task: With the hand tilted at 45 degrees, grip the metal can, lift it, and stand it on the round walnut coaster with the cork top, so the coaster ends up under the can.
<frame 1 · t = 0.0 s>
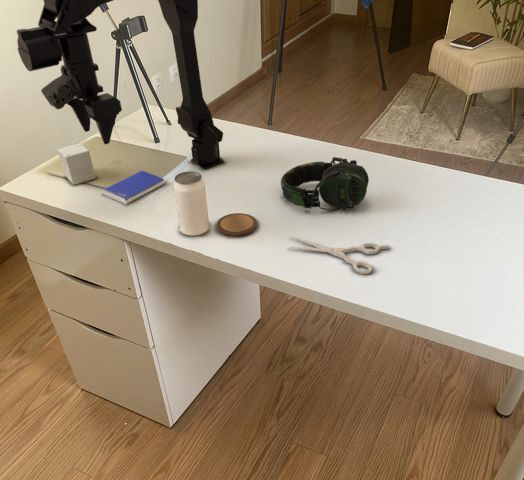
hand: (96, 137, 117), 15 cm above the table, tool pointing down, fingers open, 9 cm apart
headphones: (322, 201, 124), on the table
product box: (81, 178, 136), on the table
can: (194, 229, 117), on the table
coaster: (237, 226, 117), on the table
scissors: (334, 253, 109), on the table
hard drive: (134, 190, 130), on the table
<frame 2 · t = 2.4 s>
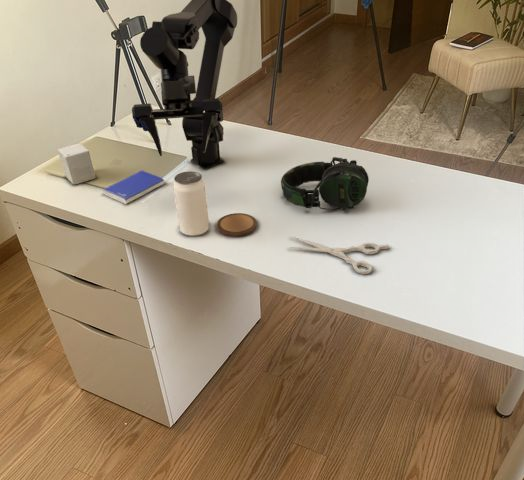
hand: (182, 153, 113), 13 cm above the table, tool tilted 45°, fingers open, 9 cm apart
nothing on the table moved.
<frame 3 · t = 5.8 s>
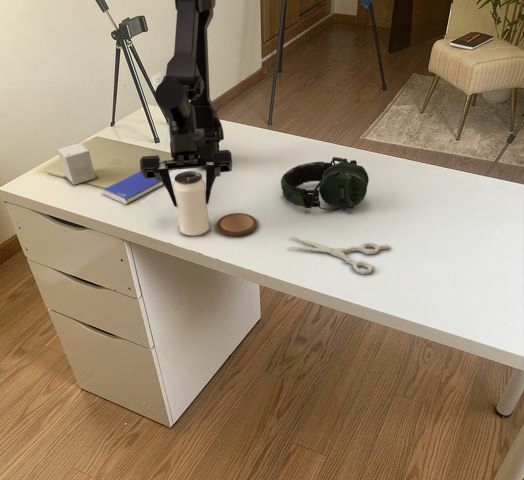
hand: (191, 204, 111), 7 cm above the table, tool tilted 45°, fingers closed on can, 6 cm apart
can: (194, 229, 117), on the table, touching gripper
everything else where it was.
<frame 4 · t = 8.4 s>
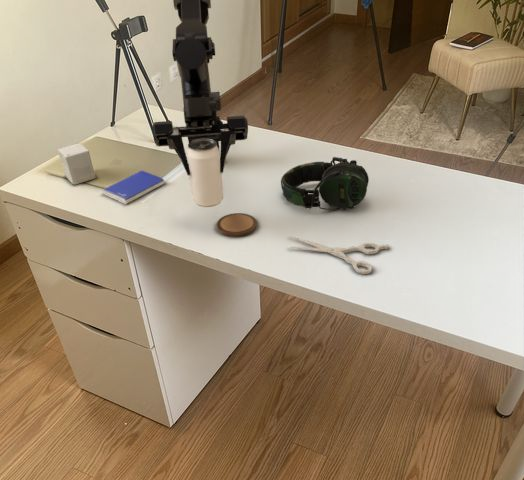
hand: (205, 173, 107), 13 cm above the table, tool tilted 45°, fingers closed on can, 6 cm apart
can: (208, 200, 112), point 6 cm above the table, touching gripper
everything else where it was.
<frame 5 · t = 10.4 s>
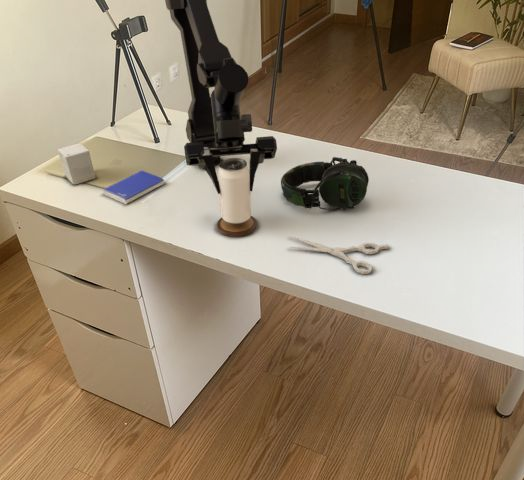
hand: (235, 192, 110), 9 cm above the table, tool tilted 45°, fingers closed on can, 6 cm apart
can: (236, 217, 116), point 2 cm above the table, touching gripper
everything else where it was.
when the fingers open (8 cm above the table, at t = 11.4 s): can stays where it is, resting on coaster.
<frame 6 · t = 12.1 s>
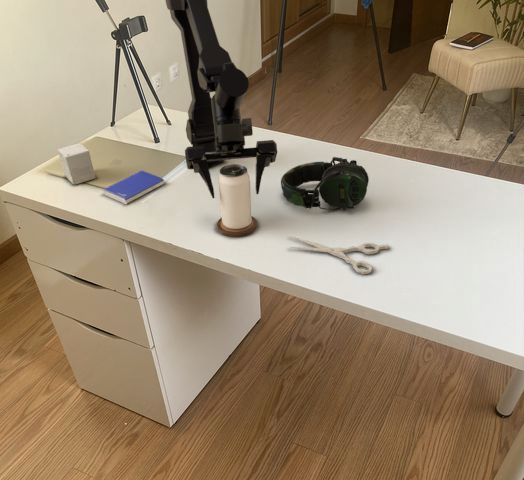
hand: (235, 195, 110), 8 cm above the table, tool tilted 45°, fingers open, 9 cm apart
can: (237, 223, 116), point 1 cm above the table, touching coaster
everything else where it was.
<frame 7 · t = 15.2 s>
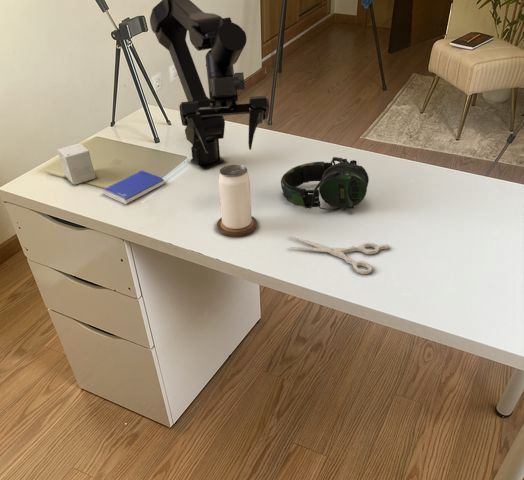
hand: (228, 150, 113), 14 cm above the table, tool tilted 45°, fingers open, 9 cm apart
nothing on the table moved.
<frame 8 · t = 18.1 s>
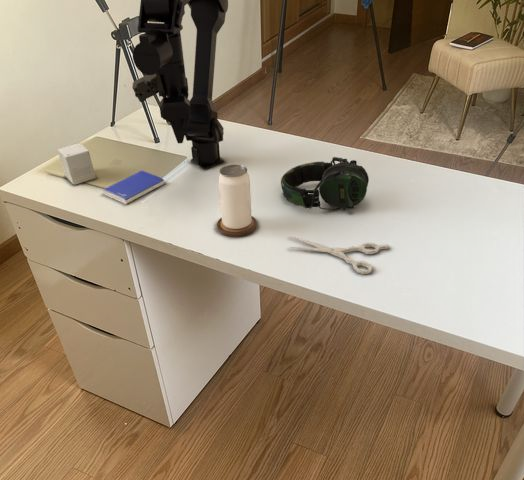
hand: (179, 134, 121), 13 cm above the table, tool pointing down, fingers open, 9 cm apart
nothing on the table moved.
at the end: can 0.1 cm off-centre on the coaster, point 0.7 cm above the coaster's base; can tilted 0°; the gripper is holding nothing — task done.
